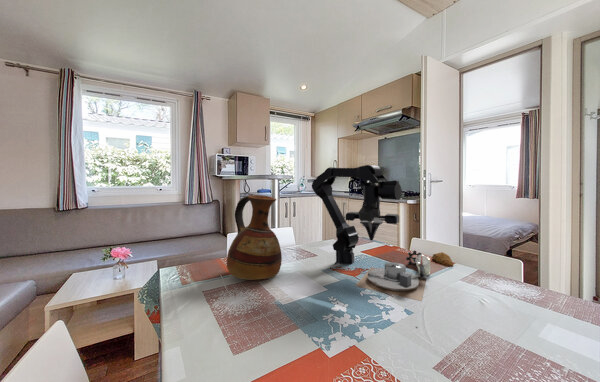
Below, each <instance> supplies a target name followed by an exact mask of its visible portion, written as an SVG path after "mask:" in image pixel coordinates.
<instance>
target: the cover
mask: <svg viewBox="0 0 600 382" xmlns="http://www.w3.org/2000/svg"><path fill="white" fill-rule="evenodd" d="M384 268H385V273H384V278H385V279H387V280H389V281H392V282H400V274H402V273H406V271H407V266H406V264H403V263H400V262H391V261H389V262H385V263H384Z"/></svg>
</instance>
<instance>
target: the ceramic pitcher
mask: <svg viewBox="0 0 600 382" xmlns="http://www.w3.org/2000/svg"><path fill="white" fill-rule="evenodd" d="M276 201H277V198H275V197H272V196H268V195H262V194H253V193H252V194H248V195H245V196H244V197H242V198H240V200H239V201H238V202H237V204H236V207H235V211H234V221H235V225H236V229H237V234H236V235H235V237H234V239H233V240H232V242H231V244H230V247H229V249H228V251H227V256H226V267H227V269H226V270H228V272H229V273H230V275H231V276H233V277H234V278H237V279H240V280H262V279H263V280H264V279H269V278H273V277H276V276H277V275H278V274H279V272H280V270H281V266H282V261H283V259H282V255H283V254H282V250H281V245H280V242H279V239H278V237H277V234H276V233H275V232H274V231H273V230H272V229H271V228H270V225H269V214H270V208H271V206H272V205H273V204H274V203H275V202H276ZM249 202H250V205H251V207H252V210H251V213H252V214H251V219H250V222H249V224H248V225H247V226H245V223H244V217H243V214H244V213H243V212H244V209H245V207H246V205H247V204H248V203H249Z"/></svg>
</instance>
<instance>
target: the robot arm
mask: <svg viewBox="0 0 600 382" xmlns="http://www.w3.org/2000/svg"><path fill="white" fill-rule="evenodd" d="M337 177H340V178H342V177H343V178H344V177H346V178H356V179H359V180H361V182H360V183H359V184H358V185H357V186H358V187H359V188H360V187H362V188H363V202H362V206H361V208H360V209H359V211H348V212H346V213H345V217H344V215H343V213H342V212H341V209H340V207H339V205H338V203H337V202H336V199H335V198H334V195H333V187H332V186H333V184H334V183H335V182H336V181H335V180H336V178H337ZM311 189H312V191H313V192H314V194H315V195H316V196H317V197H319V198H320V199H321V200H322V202H323V204H324V206H325V208H326V210H327V213H328V215H329V216H330V218H331V220H332V223H333V225H334V226H335V229H336V231H335V233H336V234H335V237H336V239H337V240H336V241H334V243H332V249H333V251H335V262H334V265H335V266H336V265H337V264H338V263H340V264H342V265H348V264H349V265H353V264H355V253H354V249H355V248H356V245H357V244H358V243H359V239H360V238H359V232H358V231H357V229H356V227H355V225H349V224H348V223H347V221H352V222H353V221H354V220H357V219H358V220H359V221H360V222H359V223H360V224H362V225H363V226H364V228H365V230H366V233H367V236H368V238H369V241H373V240H374V238H375V236H376V233H377V231H378V229H379V226H381V225H382V224H383V223H384V222H385V223H386V224H387V225H388V224H389V225H397V224H398V223H399V222H400V215H399V214H398V213H386V214H385V215H381V209H380V208H381V207H380V205H381V201H380V200H381V199H382V200H388V201H389V200H390V201H391V200H393V201H400V200H401V198H402V194H403V190H402V185H400V181H399V180H388V179H387V178H386V176H385V175H384V174H383V170H382V168H381V167H380V166H378V165H375V164H374V165H371V164H366V165H362V166H357V167H334V166H333V167H331V166H330V167H327V168H326V169H325V170H324V171H323V172H322V173H321V174H319V175H318V176H317V177H316V178H315V179H314V180H312V184H311ZM383 221H384V222H383Z"/></svg>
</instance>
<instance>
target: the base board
mask: <svg viewBox="0 0 600 382" xmlns="http://www.w3.org/2000/svg"><path fill="white" fill-rule="evenodd" d="M373 269H377V268H376V267H370V269H369V270H368V271H367V272H365V274H364V275H363V276H362V277H361V279H360V280H359V281H358V282H357V283H356V284H355V286H354V287H357V288H362V289H365V290H369V291H375V292H380V293H383V294H388V295H392V296H398V297H401V298H406V299H410V300H415V301H418V302H419V301H420V302H422V301H423V298H424V294H425V288H426V284H427V280H421V279H419V286H418V288H416V289H414V290H411V291H391V290H386V289H382V288H379V287H377V286H375V285H373V284H372V283H370V282H369V280H368V272H369V271H371V270H373ZM414 275H415V274H414ZM415 276H417V274H416V275H415Z"/></svg>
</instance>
